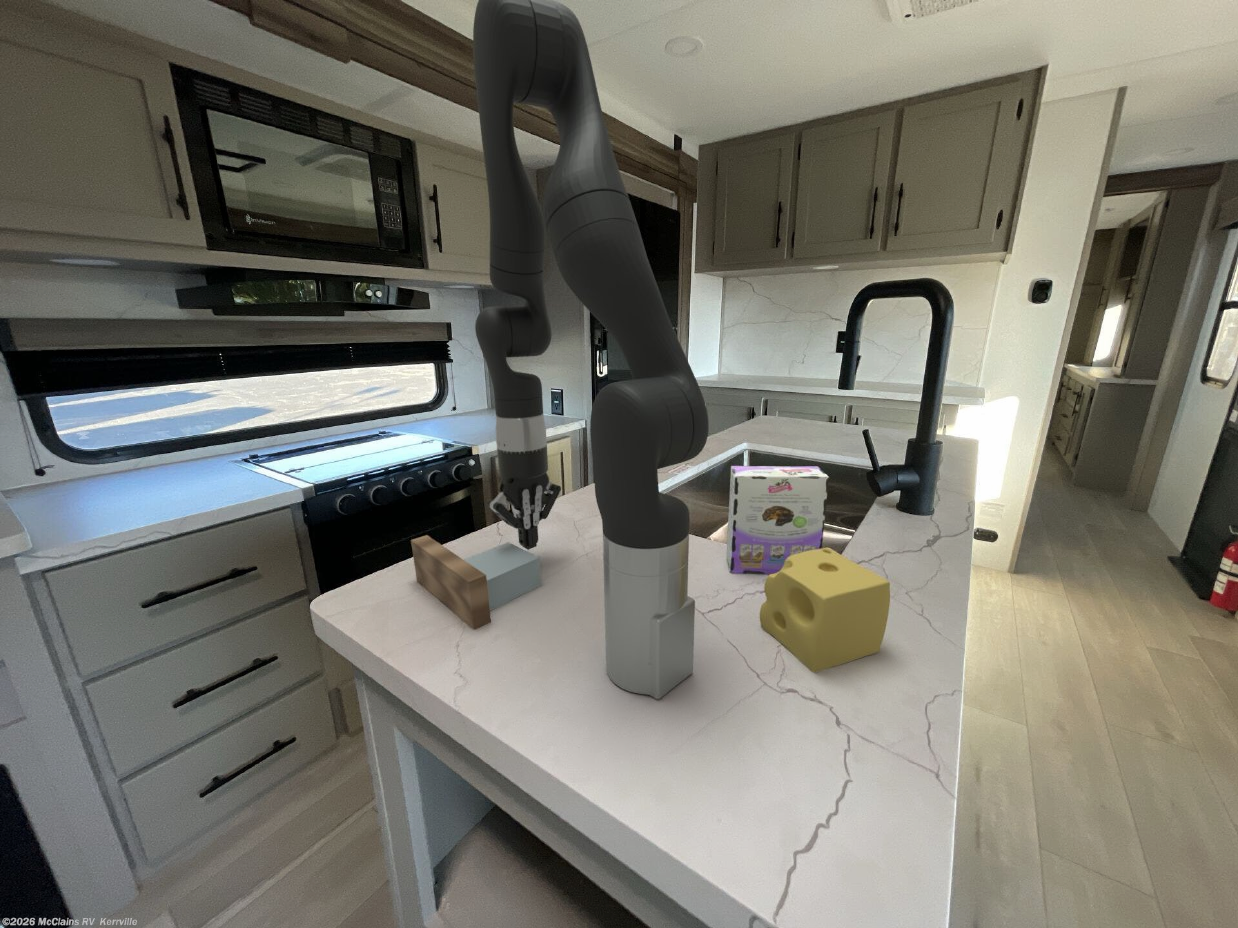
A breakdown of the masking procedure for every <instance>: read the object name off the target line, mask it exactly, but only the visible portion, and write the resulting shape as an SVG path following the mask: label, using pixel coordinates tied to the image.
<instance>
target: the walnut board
mask: <svg viewBox="0 0 1238 928" xmlns="http://www.w3.org/2000/svg"><path fill="white" fill-rule="evenodd" d="M410 544H411V549H412V550H411V551H412V558H413V564H414V570H415V578H416V581H417V583H418V584H420V585H421V586H423V588H425V590H426V591H428V593H430V594H431V595H432V596H434V598H436V599H437V600H438V601H440V602H441V604H443V605H445V606H446V607H447V608H448V609H449V610H450V611H451V612H453V613H454V614H455V615H456V616H457V617H459V619H461V620H462V621H463V622H465V624H467V625H468V626H469V627H470V628H471V629H473V630H475V629H478V628H480V627H482V626H485V625H486V624H489V623H491V622H492V620H491V611H490V608H489V598H488V588H487V578H486V575H485V574H484V573H482V572H481V571H479V570H478V569H476V568H475V567H473V566H472V565H471V564H469V563H468V562H466V561H465V560H464V559H463V558H461V557H460V556H459V555H457V554H455V553H454V552H453V551H451V550H450V549H448V548H447V547H445V546H444V545H442V544H441V543H440V542H438V541H436V540H435V539H433V538H432V537H431V536H430V535H428V534H426V535H423V536H420V537H416V538H412V539H411V540H410Z"/></svg>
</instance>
